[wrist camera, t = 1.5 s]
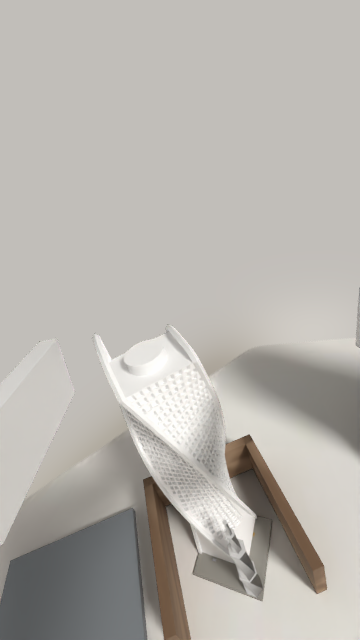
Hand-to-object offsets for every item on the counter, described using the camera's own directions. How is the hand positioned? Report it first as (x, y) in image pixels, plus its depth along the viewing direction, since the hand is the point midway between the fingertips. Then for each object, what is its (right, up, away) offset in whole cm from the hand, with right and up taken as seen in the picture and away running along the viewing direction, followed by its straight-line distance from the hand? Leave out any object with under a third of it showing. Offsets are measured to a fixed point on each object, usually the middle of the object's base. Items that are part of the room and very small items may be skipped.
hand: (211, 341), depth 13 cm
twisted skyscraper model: (+4, -23, +19) cm, 31 cm away
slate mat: (-13, -29, +18) cm, 37 cm away
